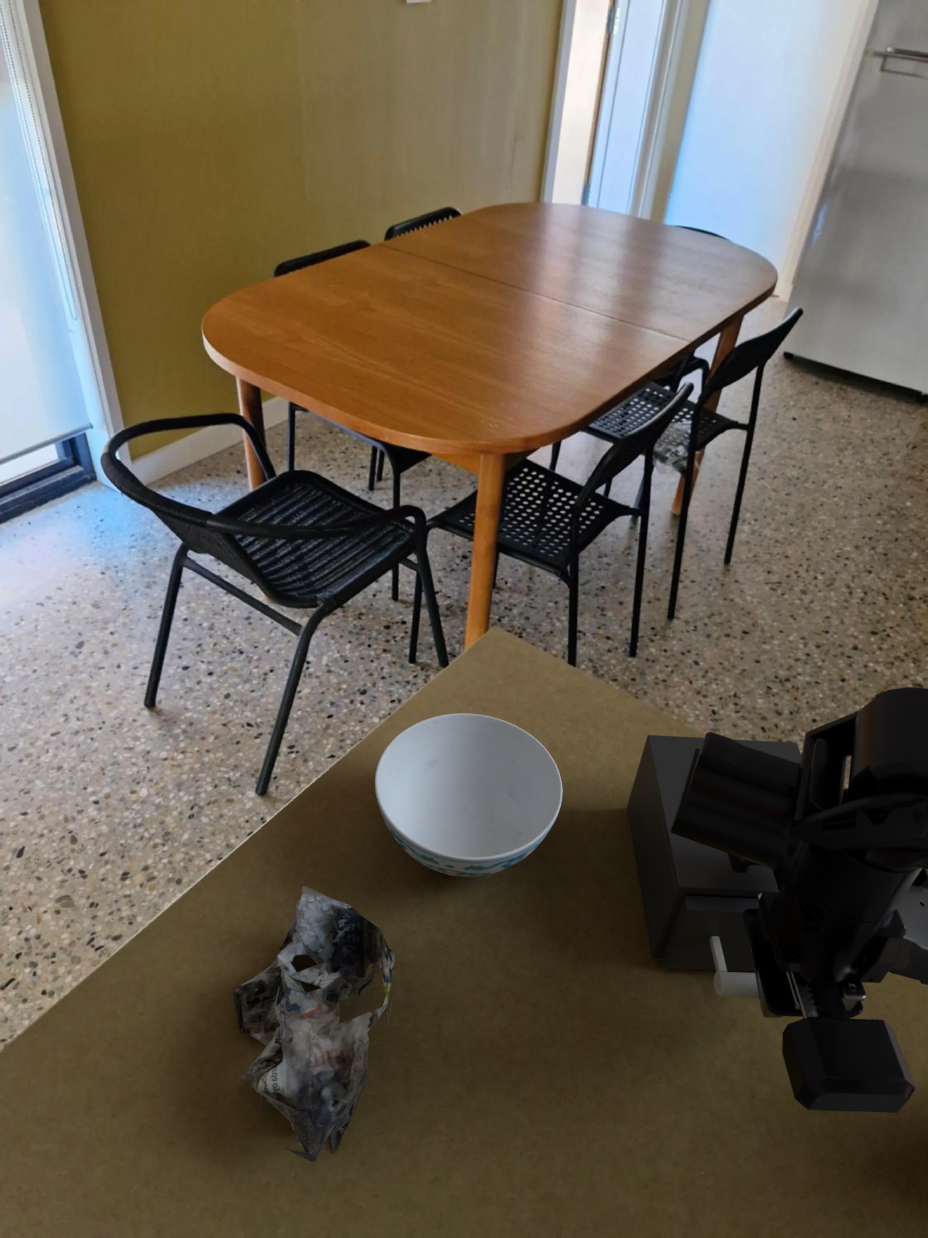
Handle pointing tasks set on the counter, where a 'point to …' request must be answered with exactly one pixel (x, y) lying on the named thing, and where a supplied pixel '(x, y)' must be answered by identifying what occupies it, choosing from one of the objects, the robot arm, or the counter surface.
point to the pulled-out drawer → (714, 942)
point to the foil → (314, 1020)
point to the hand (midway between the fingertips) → (769, 1013)
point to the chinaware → (467, 793)
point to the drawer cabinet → (681, 838)
